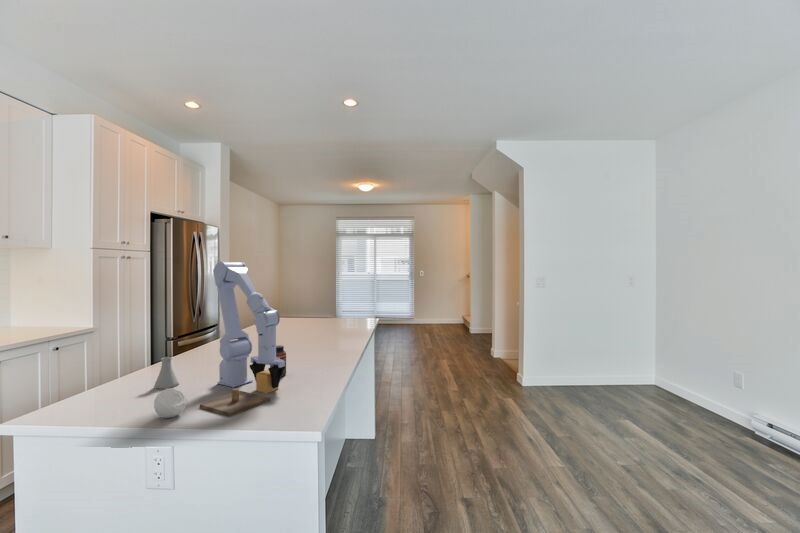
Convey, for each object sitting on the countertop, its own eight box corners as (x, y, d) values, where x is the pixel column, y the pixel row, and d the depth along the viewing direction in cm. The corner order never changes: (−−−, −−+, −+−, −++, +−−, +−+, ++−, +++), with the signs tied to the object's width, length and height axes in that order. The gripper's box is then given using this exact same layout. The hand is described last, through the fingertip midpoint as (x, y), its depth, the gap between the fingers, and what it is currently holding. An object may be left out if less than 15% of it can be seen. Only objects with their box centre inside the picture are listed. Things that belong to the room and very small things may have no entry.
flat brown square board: (199, 407, 111) (199, 392, 111) (240, 393, 123) (239, 380, 123) (230, 416, 104) (230, 400, 104) (269, 400, 116) (269, 386, 116)
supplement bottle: (281, 378, 141) (281, 348, 141) (266, 377, 142) (266, 347, 142) (289, 373, 146) (288, 345, 146) (275, 373, 148) (275, 344, 148)
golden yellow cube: (256, 390, 126) (256, 373, 126) (268, 386, 130) (268, 369, 130) (266, 393, 124) (266, 375, 124) (278, 388, 128) (278, 371, 128)
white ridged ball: (168, 423, 100) (168, 394, 100) (146, 420, 102) (146, 392, 102) (192, 412, 107) (192, 385, 107) (171, 410, 109) (171, 383, 109)
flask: (149, 388, 130) (149, 359, 130) (169, 382, 136) (169, 355, 136) (163, 390, 127) (163, 361, 127) (183, 384, 134) (183, 356, 134)
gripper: (242, 346, 127) (243, 385, 127) (273, 350, 120) (273, 392, 120) (259, 342, 133) (260, 380, 133) (289, 346, 126) (289, 386, 126)
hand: (267, 385), depth 127 cm, fingers open, 7 cm apart
